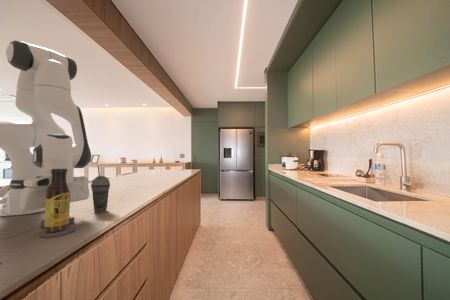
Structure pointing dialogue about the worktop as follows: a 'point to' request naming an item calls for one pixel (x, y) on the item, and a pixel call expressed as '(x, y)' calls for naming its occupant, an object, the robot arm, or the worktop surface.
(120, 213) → the worktop surface
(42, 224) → the button housing
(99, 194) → the beverage cup
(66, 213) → the sauce bottle
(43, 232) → the mat
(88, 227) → the worktop surface
